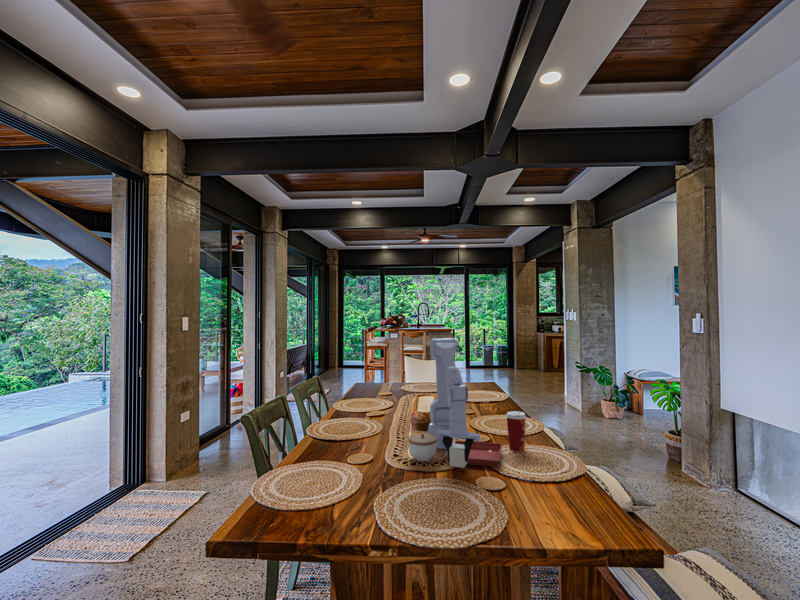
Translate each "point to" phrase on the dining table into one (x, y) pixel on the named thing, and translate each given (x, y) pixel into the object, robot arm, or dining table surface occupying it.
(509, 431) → the paper cup
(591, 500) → the dining table surface
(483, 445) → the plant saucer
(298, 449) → the dining table surface
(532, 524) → the dining table surface
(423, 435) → the lidded jar
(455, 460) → the block
